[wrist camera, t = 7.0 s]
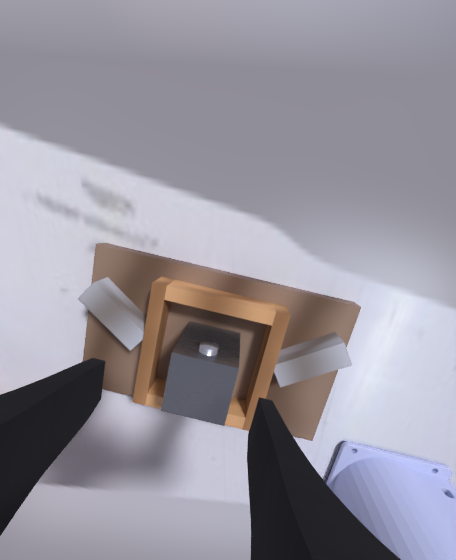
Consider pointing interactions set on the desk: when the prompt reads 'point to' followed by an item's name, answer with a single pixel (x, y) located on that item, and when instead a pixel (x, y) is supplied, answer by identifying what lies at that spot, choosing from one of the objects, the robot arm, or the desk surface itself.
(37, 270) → the desk surface
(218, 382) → the block
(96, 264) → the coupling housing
